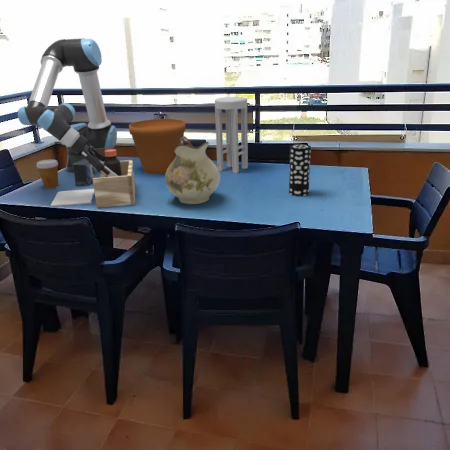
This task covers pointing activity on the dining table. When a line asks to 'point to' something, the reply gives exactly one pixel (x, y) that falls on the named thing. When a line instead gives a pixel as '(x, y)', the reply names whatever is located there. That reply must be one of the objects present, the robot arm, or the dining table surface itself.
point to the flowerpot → (156, 142)
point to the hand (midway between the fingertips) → (116, 174)
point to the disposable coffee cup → (48, 173)
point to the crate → (116, 187)
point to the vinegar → (112, 161)
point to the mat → (73, 197)
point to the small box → (84, 173)
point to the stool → (231, 132)
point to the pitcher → (192, 173)
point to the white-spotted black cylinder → (299, 169)
